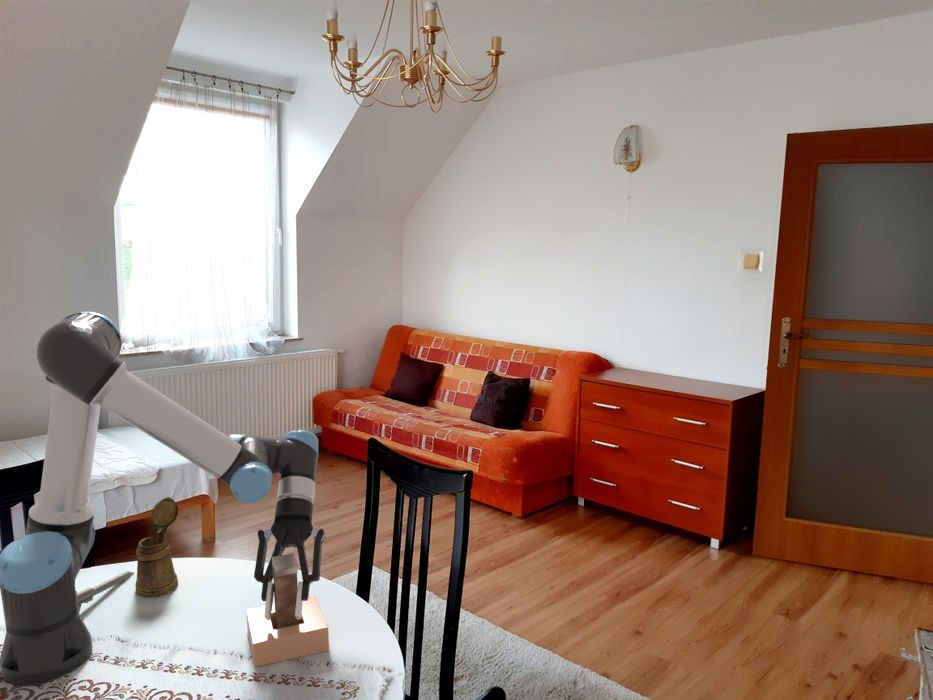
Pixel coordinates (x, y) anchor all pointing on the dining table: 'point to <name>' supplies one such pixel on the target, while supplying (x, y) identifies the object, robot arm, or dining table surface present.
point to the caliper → (99, 588)
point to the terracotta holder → (287, 634)
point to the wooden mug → (157, 554)
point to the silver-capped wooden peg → (285, 590)
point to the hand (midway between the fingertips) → (282, 618)
